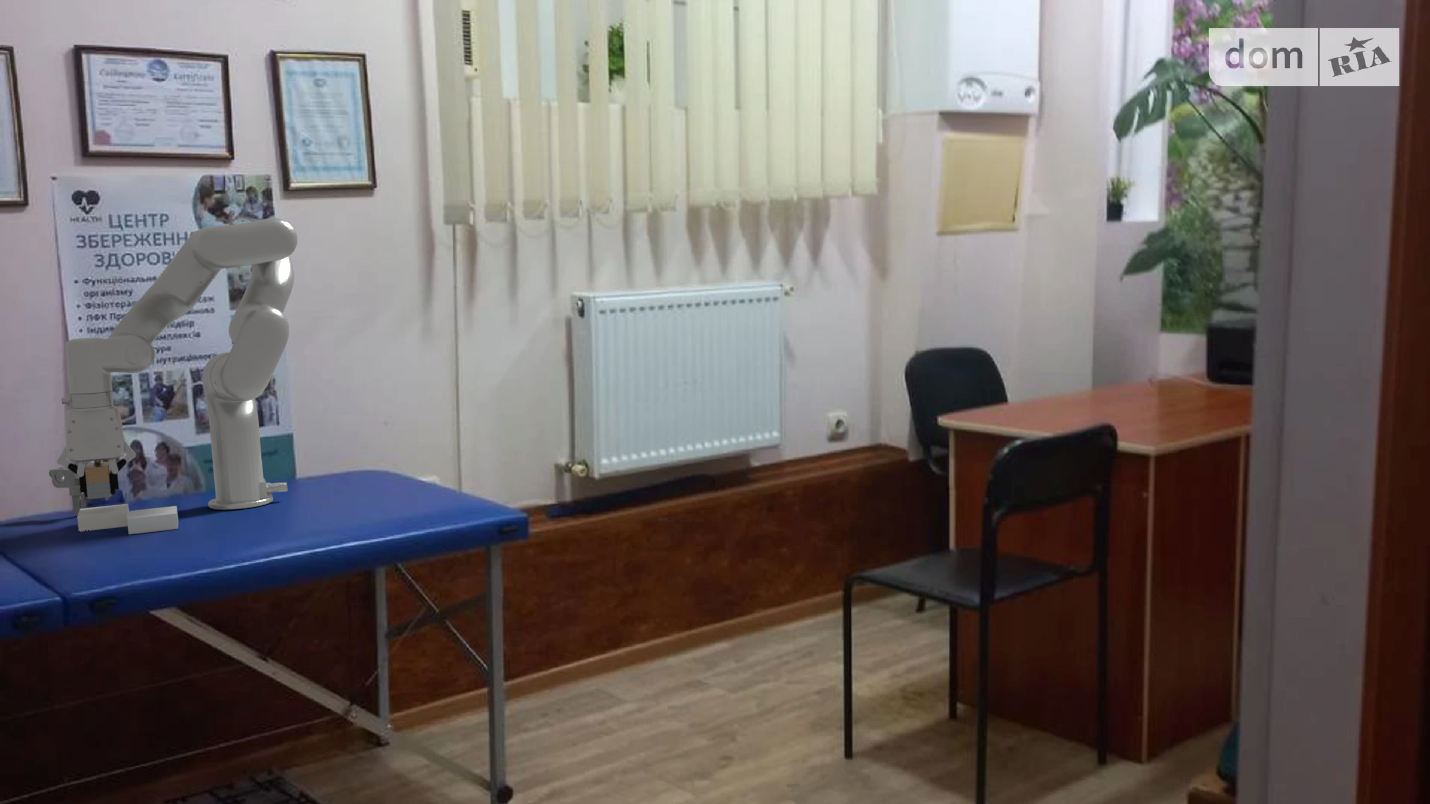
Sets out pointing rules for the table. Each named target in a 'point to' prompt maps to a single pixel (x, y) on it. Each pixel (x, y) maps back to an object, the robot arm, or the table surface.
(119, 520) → the stand
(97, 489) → the housing
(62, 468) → the mechanical component
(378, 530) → the table surface
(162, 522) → the stand
